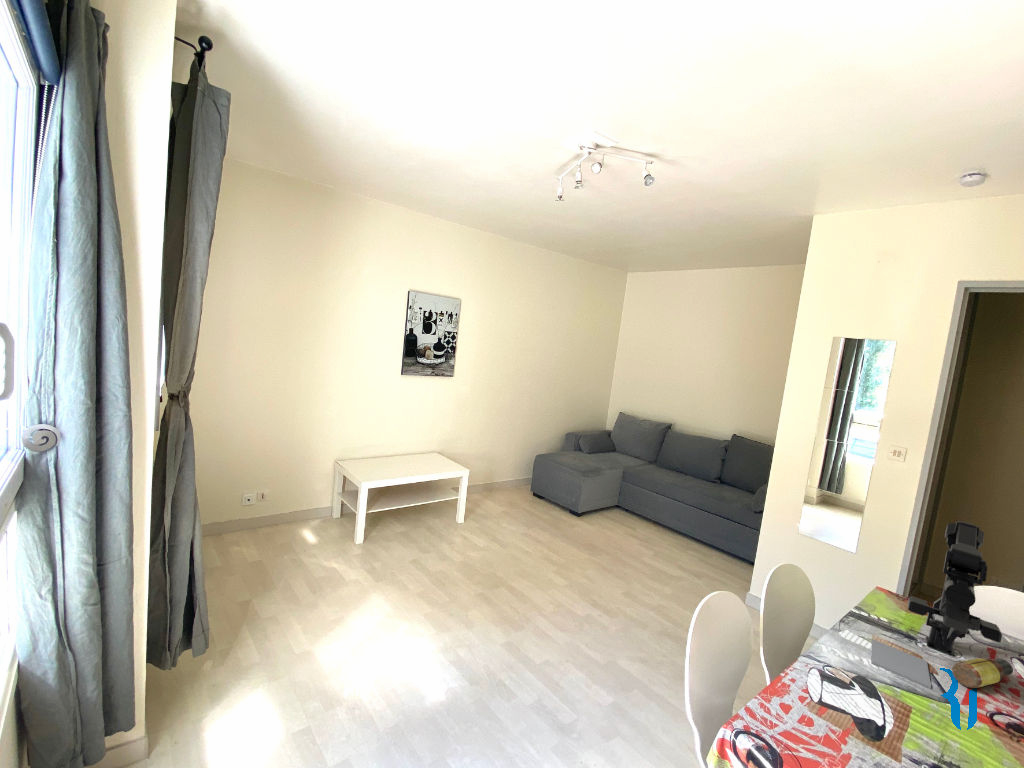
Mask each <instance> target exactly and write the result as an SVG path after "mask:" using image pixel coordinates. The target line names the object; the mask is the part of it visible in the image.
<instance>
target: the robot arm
mask: <svg viewBox="0 0 1024 768" xmlns="http://www.w3.org/2000/svg"><path fill="white" fill-rule="evenodd" d="M985 534H986V533H985V532H983V530H981V529H980V526H978V525H976V524H973V523H969V522H964V521H959V520H957V521H956V522H951V523H947V525H946V528H945V534H944V538H946V544H947V547H948V549H947V550H946V553H945V559H944V564H943V570H942V572H943V574H946V576H945V579H944V583H943V584H944V585H943V590H942V594H941V597H939V598H938V599H936V600H935V601H933V605H932V606H930V605H928V602H927V600H924V599H921V598H918V597H916V596H913V595H911V596H909V597H908V598H907V599H908V600H907V610H908V611H910V612H912V613H914V614H916V615H917V614H918V615H920V616H922V617H923V616H925V615H927V617H926V622H925V626H927V627H928V626H929V627H930V631H929V635H928V636H925V642H926V646H927V647H928V648H931V649H934V650H936V651H938V652H940V653H944V654H946V655H949V656H952V657H955V656H956V654H955V650H954V644H955V640H956V639H957V638H959V639H964V638H966V635H970V634H971V631H973V632H974V631H976V632H979V631H980V634H981V635H982V637H984V638H985V639H988V640H991V641H993V642H996V643H1001V642H1002V636H1003V634H1002V631H1001V629H1000V627H999V626H998V625H997V624H996V623H992V622H990V621H987V620H985V619H981V617H979V616H975V615H973V614H971V613H970V607H972V606H973V605H974V604H975V603H976V600H977V599H976V594H975V593H976V592H975V586H976V584H977V585H980V586H982V585H983V582H986V580H987V574H988V573H987V572H988V564H987V562H986V560H983V552H981V551H980V550H979V548H982V547H983V545H984V540H985ZM978 576H979V577H978ZM970 630H971V631H970Z"/></svg>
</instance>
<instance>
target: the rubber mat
mask: <svg viewBox="0 0 1024 768" xmlns="http://www.w3.org/2000/svg"><path fill="white" fill-rule="evenodd" d="M870 657H871V660H870V661H871V664H872V665H874V666H876V667H879V668H881V669H883V670H885V671H888V672H891V673H893V674H895V675H897V676H900V677H902V678H904V679H907V680H909V681H911V682H914V683H915V684H916V683H917V684H918V685H921V686H923V687H926V688H928V689H930V690H931V689H932V685H931V678H930V671H929V665H928V660H926V659H923V658H921V657H918V656H915V655H913V654H911V653H907V652H905V651H903V650H901V649H898V648H896V647H892V646H890V645H887V644H885V643H883V642H880V641H877V640H875V639H873V638H872V641H871V656H870Z"/></svg>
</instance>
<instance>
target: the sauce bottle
mask: <svg viewBox="0 0 1024 768" xmlns="http://www.w3.org/2000/svg"><path fill="white" fill-rule="evenodd" d="M951 671H952V672H951V673H952V675H953V678H955V680H957V682H958V683H960V685H962V686H964V687H966V688H971V689H975V688H976V689H977V688H982V687H986V686H989V685H993V684H997V683H999V682H1000V681H1002V680H1003V679H1004V678H1005V677H1006V676H1010V675H1012V674H1013V673H1014V667H1013V666H1012V664H1011V663H1010V662H1009V661H1007V660H1006V659H1003V658H996V659H991V658H988V657H978V658H973V659H967V660H962V661H959V662H956V663H954V664H953V665H952V667H951Z"/></svg>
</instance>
